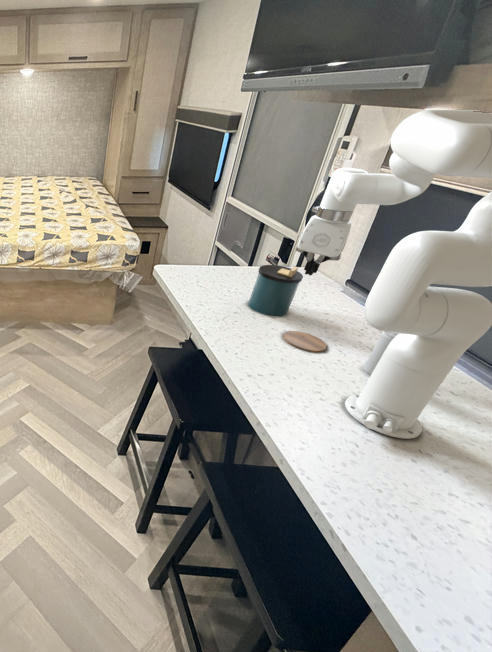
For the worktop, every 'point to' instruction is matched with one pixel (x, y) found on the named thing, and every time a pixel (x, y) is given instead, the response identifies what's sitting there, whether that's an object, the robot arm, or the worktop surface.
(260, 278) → the teal cylinder tin
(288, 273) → the slider
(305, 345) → the coaster
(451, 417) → the worktop surface
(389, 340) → the beverage can
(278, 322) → the worktop surface
